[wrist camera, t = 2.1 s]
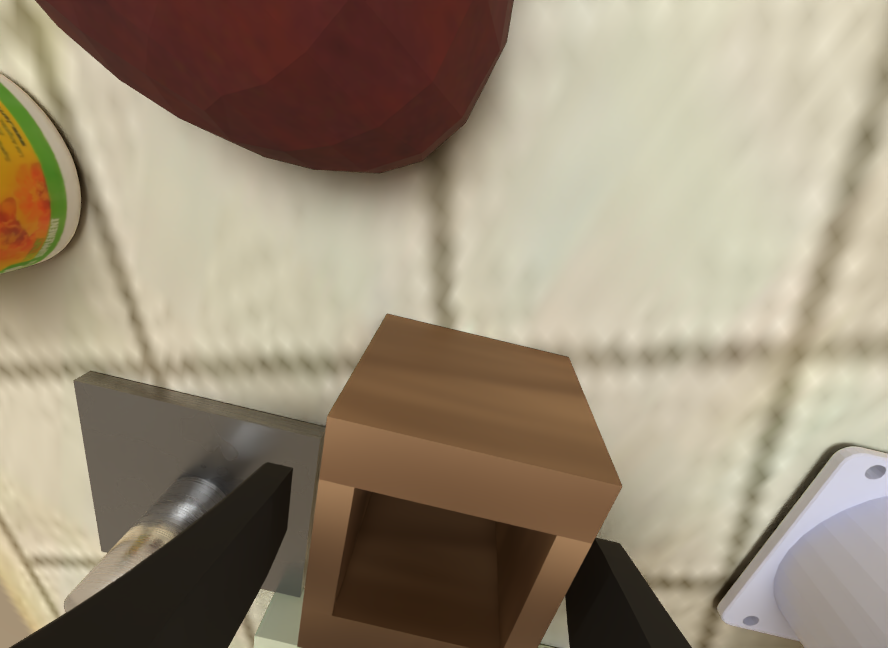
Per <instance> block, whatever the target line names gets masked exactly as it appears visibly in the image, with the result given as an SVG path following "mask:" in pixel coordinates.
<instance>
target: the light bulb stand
mask: <svg viewBox="0 0 888 648" xmlns="http://www.w3.org/2000/svg"><path fill="white" fill-rule="evenodd" d="M74 387H75V393H76V399H77V405H78V411H79V417H80V423H81V429H82V435H83V441H84V448H85V454H86V460H87V466H88V472H89V478H90V484H91V490H92V496H93V502H94V509H95V515H96V521H97V527H98V533H99V539H100V545H101V551H102V552H107V554H106V555H105V556H104V558H103V559H102V560H101V561H100V562H99V563H98V564H97V565H96V566H95V567H94V568H93V569H92V570H91V571H90V573H89V574H88V575H87V576H86V577H85V578H84V579H83V580H82V581H81V582H80V583H79V584H78V585H77V587H76V588H75V589H74V590H73V591H72V592H71V593H70V594H69V595H68V596H67V597H66V599H65V602H64V609H65V612H68V611H70V610H71V609H73V608H74V607H76V606H77V605H79V604H80V603H82V602H83V601H85V600H87V599H88V598H90V597H91V596H93V595H94V594H96V593H97V592H99V591H100V590H102V589H103V588H105V587H106V586H107V585H109V584H110V583H112V582H113V581H115V580H116V579H118V578H119V577H121V576H122V575H123V574H125V573H126V572H128V571H129V570H131V569H132V568H133V567H135V566H136V565H137V564H139V563H140V562H141V561H143V560H144V559H146V558H147V557H148V556H150V555H151V554H152V553H154V552H155V551H157V550H158V549H159V548H161V547H162V546H163V545H165V544H166V543H168V542H169V541H170V540H172V539H173V538H174V537H176V536H177V535H178V534H179V533H181V532H182V531H183V530H185V529H186V528H187V527H188V526H190V525H191V524H192V523H193V522H195V521H196V520H197V519H198V518H200V517H201V516H202V515H203V514H205V513H206V512H207V511H209V510H210V509H211V508H212V507H214V506H215V505H216V504H217V503H218V502H220V501H221V500H222V499H223V498H224V497H226V496H227V495H228V494H229V493H230V492H232V491H233V490H234V489H235V488H236V487H237V486H239V485H240V484H241V483H242V482H243V481H244V480H246V479H247V478H248V477H249V476H250V475H251V474H252V473H254V472H255V471H256V470H257V469H258V468H259V467H260V466H262V465H263V464H265V463H267V462H270V463H274V464H279V465H283V466H287V467H292V468H293V475H292V485H291V496H290V506H289V517H288V527H287V531H286V534H285V536H284V539H283V541H282V543H281V546H280V548H279V550H278V553H277V555H276V557H275V560H274V562H273V564H272V566H271V569H270V571H269V573H268V576H267V577H266V579H265V581H264V583H263V585H262V587H261V589H265V590H269V591H273V592H278V593H282V594H286V595H290V596H295V597H299V598H300V597H301V594H302V592H303V590H304V587H305V582H306V574H307V567H308V559H309V552H310V544H311V536H312V529H313V521H314V513H315V506H316V498H317V490H318V483H319V475H320V467H321V460H322V452H323V445H324V437H325V429H326V427H323V426H319V425H315V424H310V423H306V422H302V421H298V420H294V419H289V418H285V417H281V416H277V415H273V414H268V413H264V412H260V411H256V410H251V409H247V408H243V407H239V406H235V405H230V404H226V403H222V402H218V401H214V400H209V399H205V398H201V397H197V396H192V395H188V394H184V393H180V392H176V391H171V390H167V389H163V388H159V387H155V386H150V385H146V384H142V383H138V382H133V381H129V380H125V379H121V378H117V377H112V376H108V375H104V374H100V373H96V372H91V371H90V372H88V373H86V374H84V375H82V376H81V377H79V378H77V379H75V380H74Z"/></svg>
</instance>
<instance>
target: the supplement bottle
mask: <svg viewBox="0 0 888 648" xmlns="http://www.w3.org/2000/svg"><path fill="white" fill-rule="evenodd" d="M80 210H81V193H80V185H79V179H78V175H77V171H76V167H75V164H74V162H73V159H72V156H71V154H70V152H69V150H68V148H67V146H66V144H65V142H64V140H63V138H62V137H61V135H60V134H59V132H58V131H57V129H56V128H55V126H54V125H53V123H52V122H51V121H50V119H49V118H48V117H47V115H46V114H45V113H44V112H43V110H42V109H41V108H40V107H39V106H38V105H37V104H36V103H35V102H34V101H33V100H32V99H31V97H30V96H29V95H28V94H26V93H25V92H24V91H23V90H22V89H21V88H20V87H18V86H17V85H16V84H15V83H14V82H12V81H11V80H9V79H8V78H7V77H5V76H4V75H2V74H1V73H0V274H1V273H6V272H10V271H14V270H17V269H21V268H24V267H28V266H31V265H34V264H38V263H41V262H43V261H46V260H48V259H50V258H52V257H53V256H55V255H56V254H58V253H59V252H60V251H62V250H63V249H64V248H65V247H66V245H67V244H68V243H69V242H70V240H71V239H72V237H73V235H74V233H75V231H76V228H77V226H78V222H79V217H80Z"/></svg>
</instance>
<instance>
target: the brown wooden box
mask: <svg viewBox="0 0 888 648" xmlns="http://www.w3.org/2000/svg"><path fill="white" fill-rule="evenodd" d="M621 488H622V484H621V482H620V479H619V477H618V475H617V472H616V470H615V467H614V465H613V463H612V460H611V458H610V455H609V453H608V451H607V448H606V446H605V443H604V441H603V439H602V436H601V434H600V431H599V429H598V427H597V424H596V422H595V419H594V417H593V414H592V412H591V410H590V407H589V405H588V402H587V400H586V398H585V395H584V393H583V390H582V388H581V386H580V383H579V381H578V378H577V376H576V374H575V371H574V369H573V366H572V364H571V362H570V359H569V357H565V356H561V355H557V354H553V353H549V352H545V351H540V350H536V349H532V348H528V347H524V346H520V345H515V344H511V343H507V342H503V341H499V340H494V339H490V338H486V337H482V336H478V335H474V334H469V333H465V332H461V331H457V330H453V329H449V328H444V327H440V326H436V325H432V324H428V323H424V322H419V321H415V320H411V319H407V318H403V317H398V316H394V315H390V314H387V315H386V316H385V318H384V320H383V321H382V323H381V325H380V327H379V328H378V330H377V332H376V333H375V335H374V337H373V339H372V340H371V342H370V344H369V345H368V347H367V349H366V351H365V352H364V354H363V356H362V357H361V359H360V361H359V363H358V364H357V366H356V368H355V369H354V371H353V373H352V375H351V376H350V378H349V380H348V381H347V383H346V385H345V387H344V388H343V390H342V392H341V393H340V395H339V397H338V399H337V400H336V402H335V404H334V405H333V407H332V409H331V411H330V412H329V414H328V416H327V422H326V429H325V437H324V445H323V452H322V460H321V467H320V475H319V483H318V490H317V498H316V506H315V513H314V521H313V529H312V536H311V544H310V552H309V559H308V567H307V574H306V582H305V590H304V597H303V605H302V613H301V620H300V628H299V636H298V643H297V647H300V648H538V646H539V644H540V642H541V640H542V638H543V636H544V635H545V633H546V631H547V629H548V627H549V625H550V623H551V621H552V619H553V617H554V616H555V614H556V612H557V610H558V608H559V606H560V604H561V602H562V600H563V598H564V597H565V595H566V593H567V591H568V589H569V587H570V585H571V583H572V581H573V579H574V577H575V576H576V574H577V572H578V570H579V568H580V566H581V564H582V562H583V560H584V558H585V557H586V555H587V553H588V551H589V549H590V547H591V545H592V543H593V541H594V539H595V538H596V536H597V534H598V532H599V530H600V528H601V526H602V524H603V522H604V520H605V519H606V517H607V515H608V513H609V511H610V509H611V507H612V505H613V503H614V501H615V499H616V498H617V496H618V494H619V492H620V490H621Z"/></svg>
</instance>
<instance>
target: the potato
mask: <svg viewBox="0 0 888 648" xmlns="http://www.w3.org/2000/svg"><path fill="white" fill-rule="evenodd" d="M35 1H36V2H37V3H38V4H39V5H40V6H41V8H42V9H43V10H44V11H45V12H46V13H47V14H48V16H49V17H50V18H51V19H52V20H53V21H54V22H55V24H56V25H57V26H58V27H59V28H60V29H62V30H63V31H64V32H65V33H66V34H67V35H68V36H70V37H71V38H72V39H73V40H74V41H75V42H77V43H78V44H79V45H80V46H81V47H82V48H83V49H85V50H86V51H87V52H88V53H89V54H90V55H91V56H93V57H94V58H95V59H96V60H97V61H98V62H100V63H101V64H102V65H103V66H104V67H105V68H106V69H108V70H109V71H110V72H111V73H112V74H113V75H115V76H116V77H117V78H118V79H119V80H121V81H122V82H124V83H125V84H127V85H128V86H130V87H132V88H133V89H135V90H136V91H138V92H139V93H141V94H142V95H144V96H146V97H147V98H149V99H150V100H152V101H153V102H155V103H156V104H158V105H160V106H161V107H163V108H164V109H166V110H167V111H169V112H171V113H172V114H174V115H175V116H177V117H178V118H180V119H182V120H184V121H187V122H189V123H191V124H193V125H195V126H197V127H200V128H202V129H204V130H206V131H208V132H210V133H213V134H215V135H217V136H219V137H221V138H224V139H226V140H228V141H230V142H232V143H235V144H237V145H239V146H241V147H244V148H246V149H248V150H250V151H252V152H255V153H257V154H259V155H261V156H263V157H266V158H270V159H274V160H278V161H282V162H286V163H290V164H294V165H298V166H302V167H306V168H310V169H314V170H332V171H349V172H367V173H382V172H386V171H389V170H393V169H396V168H399V167H403V166H406V165H410V164H413V163H417V162H420V161H423V160H424V159H425V158H426V157H427V156H428V155H429V154H431V153H432V152H433V151H434V150H435V149H436V148H437V147H439V146H440V145H441V144H442V143H443V142H444V141H445V140H447V139H448V138H449V137H450V136H451V135H452V134H453V133H455V132H456V131H457V130H458V129H459V128H460V127H461V126H463V125H464V124H465V123H466V121H467V119H468V117H469V115H470V113H471V111H472V109H473V107H474V105H475V103H476V101H477V100H478V98H479V96H480V94H481V92H482V90H483V88H484V86H485V84H486V82H487V80H488V78H489V76H490V74H491V72H492V70H493V68H494V66H495V64H496V62H497V60H498V58H499V56H500V54H501V52H502V51H503V49H504V47H505V45H506V43H507V38H508V32H509V26H510V19H511V13H512V7H513V1H514V0H35Z"/></svg>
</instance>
